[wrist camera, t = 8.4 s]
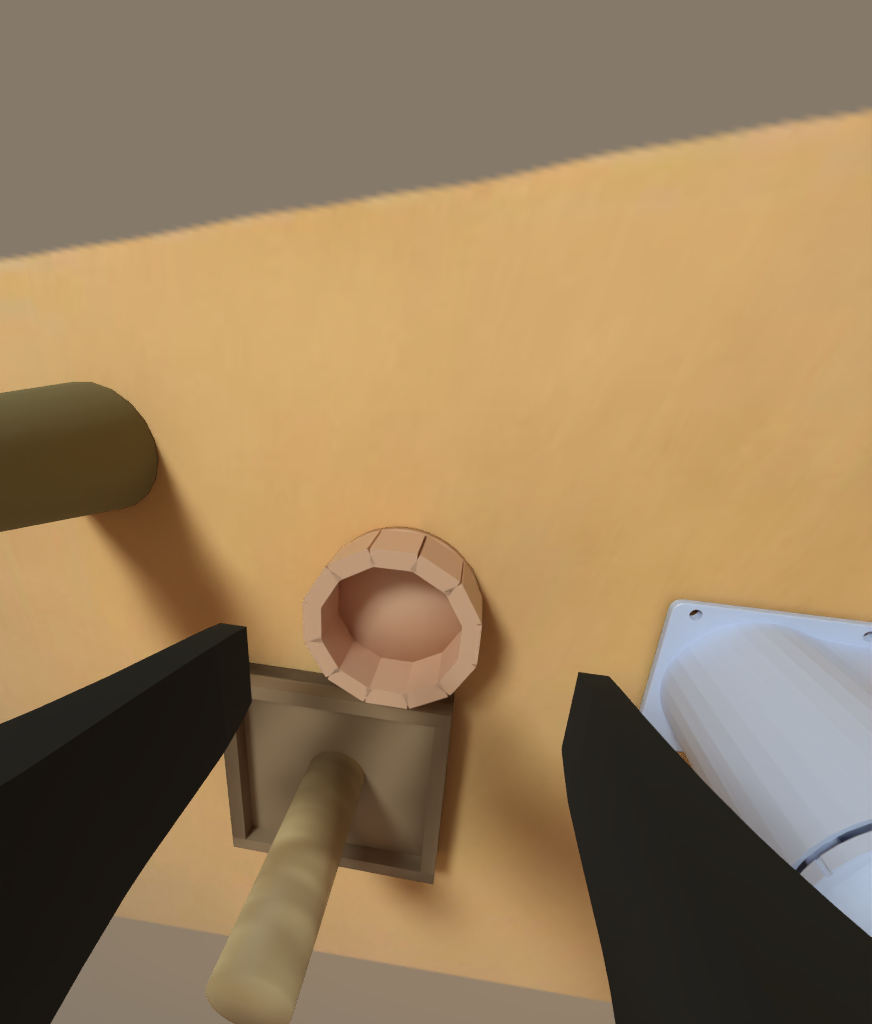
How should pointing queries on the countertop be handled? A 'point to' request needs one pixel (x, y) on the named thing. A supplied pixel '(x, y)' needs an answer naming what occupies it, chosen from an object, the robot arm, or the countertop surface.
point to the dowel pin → (288, 899)
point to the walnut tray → (359, 734)
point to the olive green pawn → (71, 454)
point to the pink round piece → (395, 618)
